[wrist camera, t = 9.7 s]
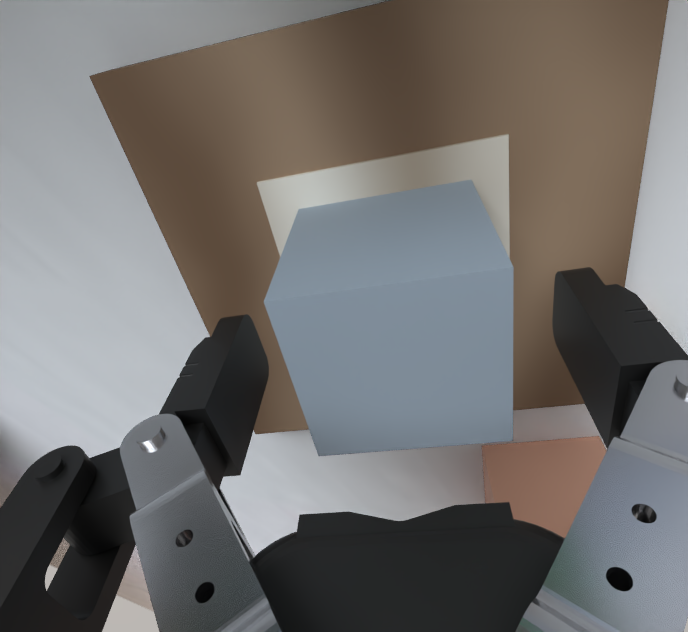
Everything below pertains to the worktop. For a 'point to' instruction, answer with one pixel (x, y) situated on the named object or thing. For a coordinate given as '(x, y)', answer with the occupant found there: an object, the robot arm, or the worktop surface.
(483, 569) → the robot arm
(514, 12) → the walnut board
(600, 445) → the terracotta block
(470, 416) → the slate block
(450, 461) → the worktop surface
